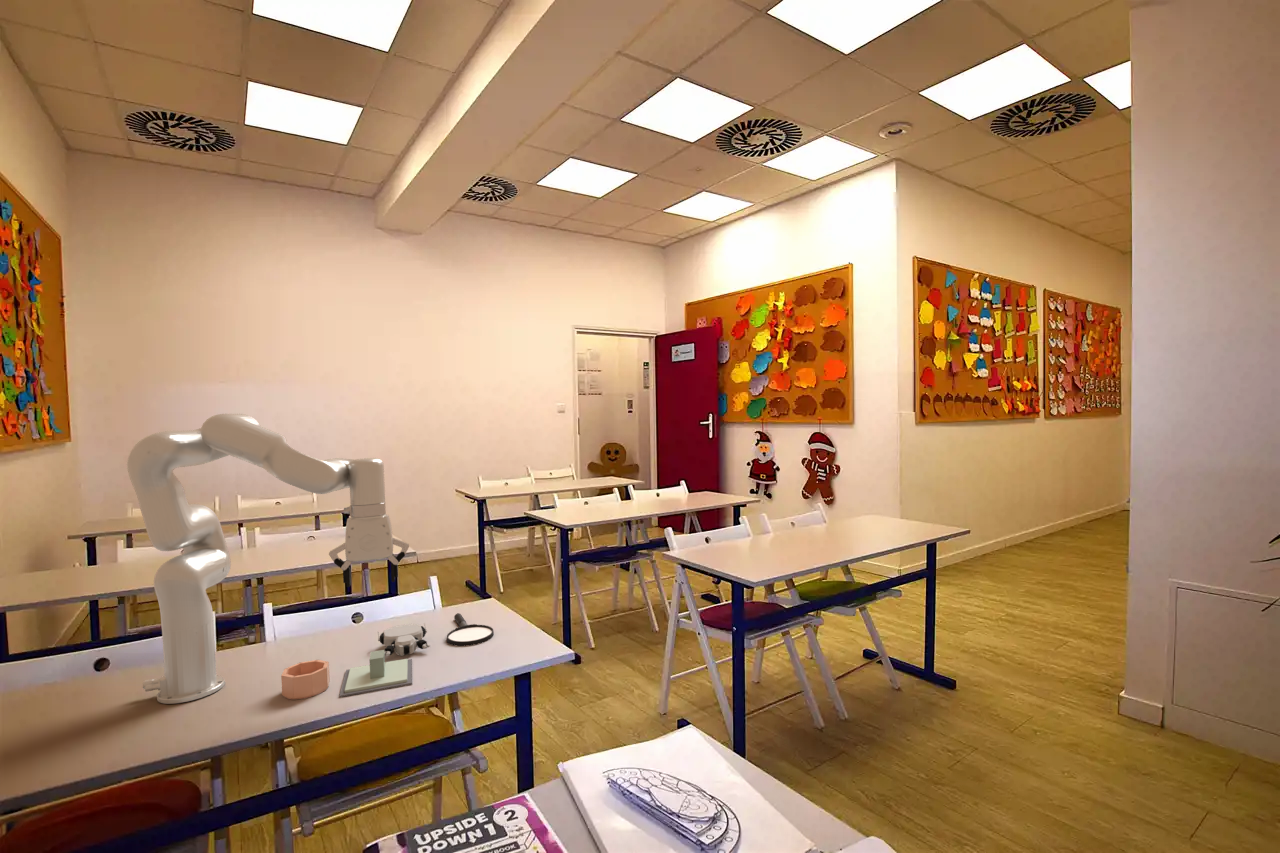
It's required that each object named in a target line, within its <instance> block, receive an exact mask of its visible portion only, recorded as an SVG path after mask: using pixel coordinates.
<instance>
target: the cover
mask: <svg viewBox="0 0 1280 853" xmlns="http://www.w3.org/2000/svg"><path fill="white" fill-rule="evenodd" d="M384 651H385V649H381V650H376V651H370V653H369V664H366V665H362V666H355V667H350V668H349V669H350V671H349V675H348V679H347V683H346V687H345V693H347V692H353V691H358V690H364V689H370V688H375V687H381V686H386V685H392V684H398V683H403V682H407V672H408V658H404V659H403V658H402V659H396V660H391V661H386V655H385V652H384Z"/></svg>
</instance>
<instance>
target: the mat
mask: <svg viewBox="0 0 1280 853" xmlns="http://www.w3.org/2000/svg"><path fill="white" fill-rule="evenodd" d="M407 659H408V658H407ZM349 671H350V668H348V669H346V670H345V674H344V676H343V677H344V678H343V680H342V681H343V682H342V685H341V689H340V692H339V698H345V697H349V696H350V695H351V696H356V695H361V694H367V693H372V692H378V691H382V690H383V691H385V690H389V689H394V687H395V688H400V687H399V686H401V687H406V686H411V684H412V685H413V659H412V658H409V659H408V672H407V682H403V683H398V684H392V685H386V686H381V687H375V688H370V689H364V690H358V691H353V692H347V693H345V687H346V683H347V679H348V675H349ZM405 685H406V686H405ZM355 694H356V695H355ZM344 696H345V697H344Z"/></svg>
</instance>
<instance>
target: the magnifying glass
mask: <svg viewBox="0 0 1280 853" xmlns="http://www.w3.org/2000/svg"><path fill="white" fill-rule="evenodd" d="M453 618H454V620H455V622H456V623H457V625H458V627H456V628H455V629H453V630H451V631H449V632H448V633H447V635H446V643H447V644H448V645H451V646H455V645H457V646H458V647H467V646H466V645H469V646H474V645H473V644H475V645H477V644H478V643H480V644H483V643H485V642H488V641H490V640H491V639H492V638H493V637H494V628H493V627H492V626H489V625H485V624H475V623H472V624H468V623H467V621H466V619H465V618H464V617H463V614H461V613H455V615H454V616H453ZM482 642H483V643H482ZM464 645H465V646H464ZM478 645H479V644H478ZM457 646H456V647H457Z"/></svg>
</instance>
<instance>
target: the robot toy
mask: <svg viewBox="0 0 1280 853" xmlns="http://www.w3.org/2000/svg"><path fill="white" fill-rule="evenodd" d="M423 625H424V626H423ZM423 625H421V624H419V623H407V624H400V625H396V626H392V627H389V628H385V629H384V630H383V632H382V633H381V634H380V633H379V631H380V630H377V641H378V642H380V643H381V645H383V646H384V647H385V648H384V652H385V657H386V656H387V657H389V656H391V655H393V653H395V654H397V655H398V656H400V655H401V656H406V655H412V654H414V652H416V650H417V648H419V649H420V650H424V649H428V648H431V645H430V644H429V643H428V641H426V640H425V639H423V638H425V637H426V634H427V633H428V630H427V627H426V622H423Z"/></svg>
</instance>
